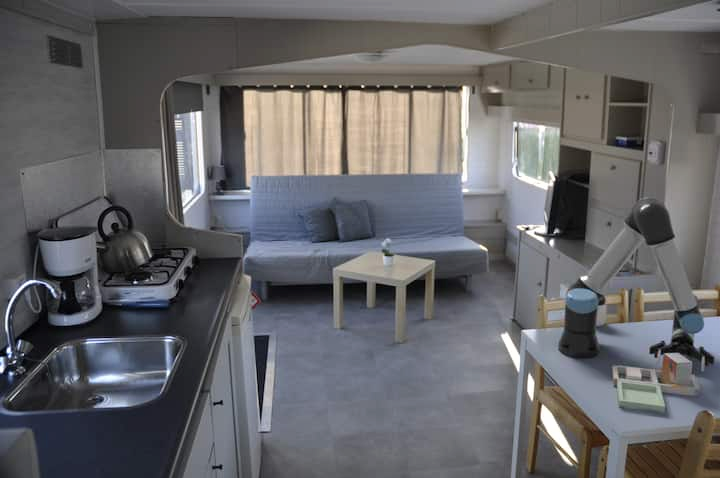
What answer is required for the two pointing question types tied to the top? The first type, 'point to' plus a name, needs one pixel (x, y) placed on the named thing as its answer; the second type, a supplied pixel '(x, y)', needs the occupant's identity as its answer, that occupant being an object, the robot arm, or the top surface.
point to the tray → (640, 396)
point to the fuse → (633, 374)
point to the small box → (676, 369)
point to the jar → (601, 312)
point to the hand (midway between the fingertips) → (680, 363)
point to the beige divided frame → (653, 375)
